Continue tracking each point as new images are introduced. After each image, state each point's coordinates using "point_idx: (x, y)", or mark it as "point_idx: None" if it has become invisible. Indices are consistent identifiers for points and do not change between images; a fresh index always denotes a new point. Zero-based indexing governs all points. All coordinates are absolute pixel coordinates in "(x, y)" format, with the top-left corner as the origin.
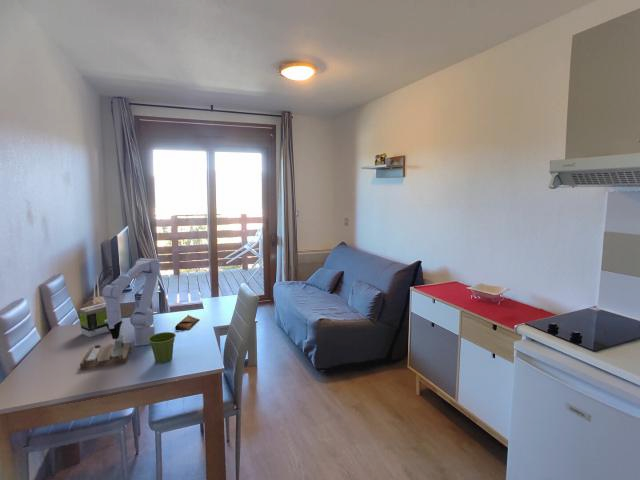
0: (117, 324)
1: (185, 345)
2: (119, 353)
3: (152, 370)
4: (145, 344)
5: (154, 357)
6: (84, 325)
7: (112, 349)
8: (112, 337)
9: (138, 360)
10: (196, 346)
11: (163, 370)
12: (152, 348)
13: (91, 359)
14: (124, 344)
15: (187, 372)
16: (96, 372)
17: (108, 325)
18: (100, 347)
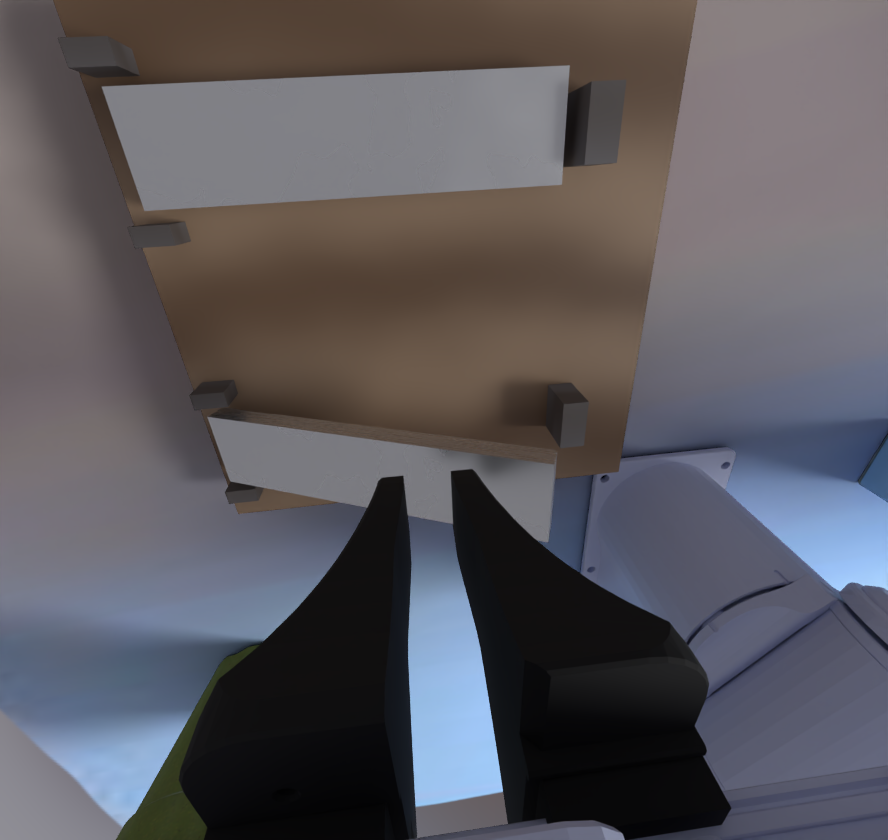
0: (506, 776)
1: (470, 721)
2: (254, 481)
3: (108, 655)
4: (587, 536)
5: None
6: None
7: (489, 337)
8: (374, 496)
9: (291, 548)
10: (434, 760)
11: (109, 700)
12: (171, 774)
13: (133, 163)
14: (586, 425)
15: (86, 784)
16: (44, 265)
17: (315, 757)
18: (547, 183)
